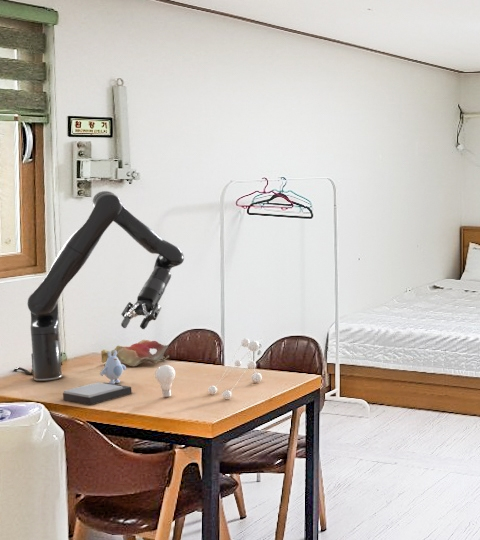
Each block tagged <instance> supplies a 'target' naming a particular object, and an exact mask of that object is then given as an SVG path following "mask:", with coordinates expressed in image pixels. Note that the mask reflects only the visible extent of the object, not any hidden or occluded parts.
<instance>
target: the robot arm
mask: <svg viewBox="0 0 480 540" xmlns="http://www.w3.org/2000/svg"><path fill="white" fill-rule="evenodd" d="M92 207H93V209H92V211H91V213H90V215H89V216H88V218H87V219H86V221H85V222H84V223H83V224H82V225H81V226H80V228H78V229H77V230H76V231H75V232H74V233H73V234H72V235H71V236H70V237H69V238H68V239H67V241H66V242H65V243H64V245H63V247H62V248H61V249H60V251H58V254H57V256H56V258H55V259H54V261H53V262H52V264H51V267H50V269H49V271H48V273H47V274H46V275H45V277H44V279H43V280H42V282H40V284H38V286H37V287H36V288H35V290H34V291H33V292H32V293H31V294H30V295H29V296H28V298H27V308H28V310H29V312H30V338H31V339H30V340H31V351H32V352H31V371H28V369H26V368H23V367H20V366H19V368H18V369H15V368H14V369H13V372H17V371H22V372H25V374H27V375H29V376H32V378H33V381H36V382H49V381H55V380H60V379H62V378H63V369H62V368H63V367H62V366H63V361H62V354H61V340H60V328H59V327H60V316H59V315H60V314H59V313H60V312H59V301H58V300H59V299H60V297H61V295H62V293H63V291H64V290H65V288H66V286H68V284H69V283H70V282H71V281H72V280H73V278H75V277H76V275H77V274H78V273H79V272H80V270H81V269H82V268H83V266H84V265H85V264H86V263H87V261H88V259H89V257H90V256H91V254H92V253H93V251H94V249H95V248H96V246H97V245H98V243H99V241H100V240H101V238H102V236H103V234H104V233H105V232H106V231H107V229H108V228H109V227H110V226H111V224H112V223H113V222H114V223H115V224H116V225H118V226H119V227H120V228H122V229H123V231H124V232H126V233H127V234H128V236H130V237H131V238H132V239H133V240H134V241H135V242H136V243H137V244H138V245H140V246H141V247H142V248H143V249H145V250H146V251H147V252H148V253H150V254H153V255H155V254H156V255H157V257H156V259H155V262H154V266H153V269H152V272H151V273H150V275H149V277H148V278H147V280H146V281H145V282H144V285H143V286H142V287H141V289H140V292H139V293H138V295H137V297H136V301H135V303H132V302H130V301H128V303H127V304H126V306H125V307H124V309H123V310H122V312H121V316H122V317H123V320H122V321H121V323H120V326H121V327H122V328H123V329H127V327H128V325H129V324H130V322H131V320H132V319H133V318H137V317H138V316H142V317H143V316H144V317H143V319H142V321H141V323H140V324H139V328H140V329H141V330H145V329H146V328H147V327H148V325H149V324H150V322H151V321H156V320H157V318H158V316H159V314H160V312H161V310H162V306H161V305H159V302H160V300H161V299H162V297H163V295H164V294H165V291H166V288H167V286H168V284H169V282H170V280H171V278H172V272H171V270H172V268H175V267H178V266H180V265H182V264H183V263H184V260H185V255H184V253H183V251H182V250H181V249H180V248H179V247H178V246H176V245H174V244H172V243H170V242H169V241H167V240H165V239H163V238H162V237H161V236H159V234H157V233H156V232H155V231H154V230H152V229H151V228H150V227H149V226H147V224H145V223H144V222H142V221H140V219H138V218H137V217H136V216H134V215H133V214H132V213H131V212H130V211H129V210H128V209H127V208H126V207H125V206H124V204H123V203H122V200H121V199H120V198H119V197H118V196H117V195H116V194H115V193H114V192H112V191H108V190H102V191H99V192H97V193H96V194H94V196H93V198H92Z"/></svg>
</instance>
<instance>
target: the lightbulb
mask: <svg viewBox="0 0 480 540" xmlns="http://www.w3.org/2000/svg"><path fill="white" fill-rule="evenodd" d="M154 374H155V379H156V381H157V382H158V384H159V385H160V388H161V392H162V394H161V395H162V397H163V398H169V397H171V396H172V391H171V390H172V384H173V382H174V381H175V378H176V374H177V373H176V370H175V368H174V367H173V366H171V365H169V364H163V365H160V366H158V368H157V369H156V371H155V373H154Z"/></svg>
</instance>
